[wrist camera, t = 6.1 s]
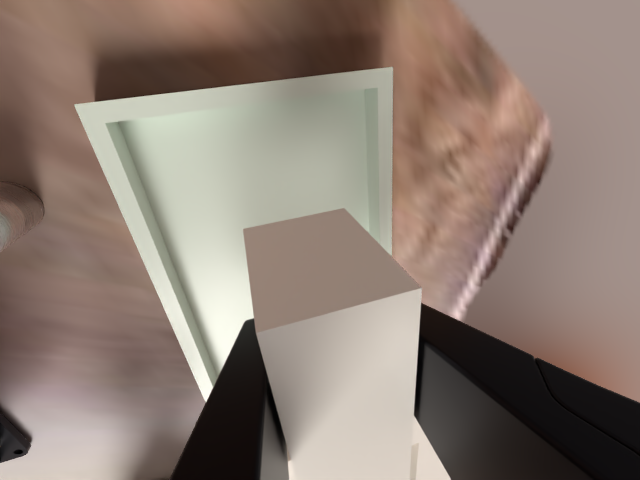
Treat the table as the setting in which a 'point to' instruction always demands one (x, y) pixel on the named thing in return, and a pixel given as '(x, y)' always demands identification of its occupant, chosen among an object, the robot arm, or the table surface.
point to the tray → (239, 184)
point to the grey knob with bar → (17, 212)
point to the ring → (339, 349)
